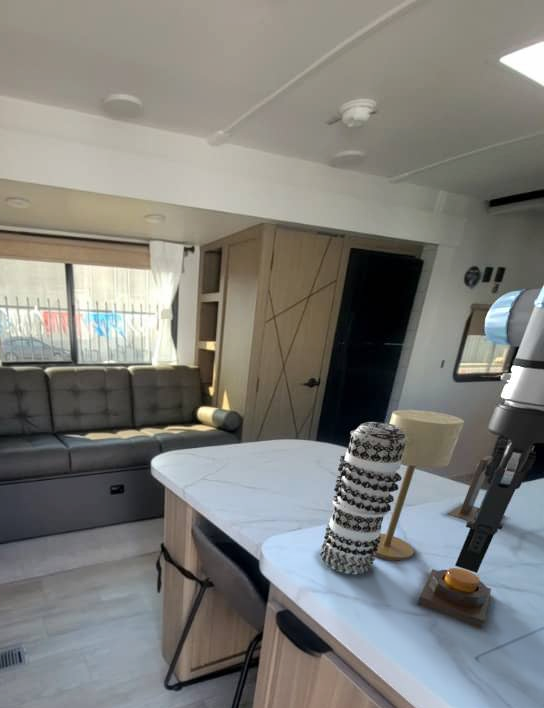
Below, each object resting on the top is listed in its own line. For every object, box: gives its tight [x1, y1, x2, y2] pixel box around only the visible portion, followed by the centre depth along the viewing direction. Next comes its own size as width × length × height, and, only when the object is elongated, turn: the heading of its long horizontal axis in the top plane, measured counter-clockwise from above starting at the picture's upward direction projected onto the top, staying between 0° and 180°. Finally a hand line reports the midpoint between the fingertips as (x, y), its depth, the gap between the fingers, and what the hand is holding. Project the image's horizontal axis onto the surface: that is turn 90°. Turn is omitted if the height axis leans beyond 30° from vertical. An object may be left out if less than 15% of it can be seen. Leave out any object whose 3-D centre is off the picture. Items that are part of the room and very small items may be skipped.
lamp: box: [374, 409, 465, 562], centre depth 71 cm, size 10×10×26 cm
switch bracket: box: [446, 455, 506, 523], centre depth 87 cm, size 10×8×14 cm
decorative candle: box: [319, 421, 409, 575], centre depth 66 cm, size 9×9×25 cm
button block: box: [416, 568, 492, 630], centre depth 62 cm, size 10×8×4 cm
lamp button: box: [444, 567, 481, 592], centre depth 61 cm, size 4×4×2 cm
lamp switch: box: [485, 439, 535, 477], centre depth 86 cm, size 12×6×2 cm, turn 126°
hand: (466, 567), depth 60 cm, fingers closed
